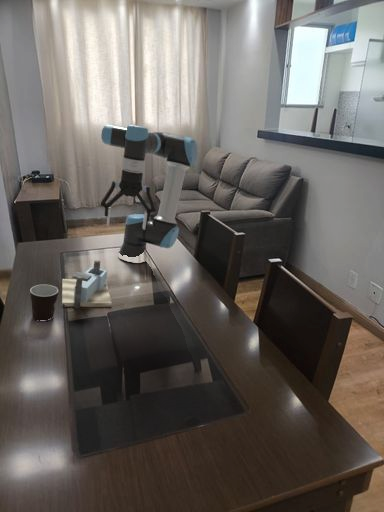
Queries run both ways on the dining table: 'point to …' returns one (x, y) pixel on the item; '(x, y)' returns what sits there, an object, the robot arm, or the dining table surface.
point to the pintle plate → (68, 287)
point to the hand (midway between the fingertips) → (126, 226)
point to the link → (92, 284)
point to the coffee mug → (43, 301)
